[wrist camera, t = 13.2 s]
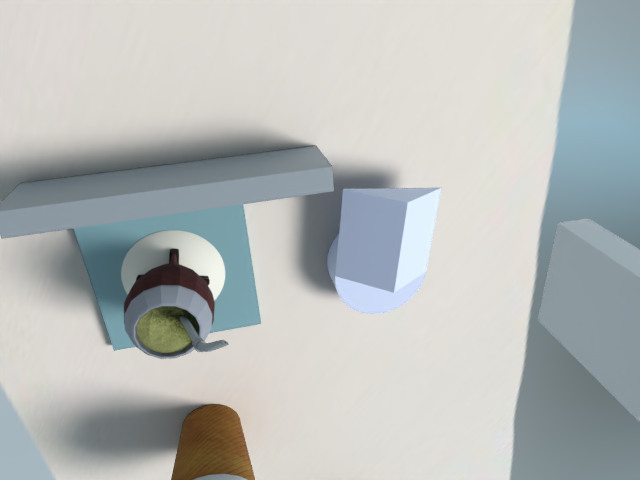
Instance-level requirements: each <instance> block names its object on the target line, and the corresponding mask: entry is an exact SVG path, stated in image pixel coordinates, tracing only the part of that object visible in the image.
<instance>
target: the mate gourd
mask: <svg viewBox="0 0 640 480" xmlns="http://www.w3.org/2000/svg"><path fill="white" fill-rule="evenodd" d="M209 283H210V280H209V277H208V276H199V275H198V274H197V273H196V272H195V271H194V270H192V269H190V268H187V267H185V266H183V265H180V264H179V249H174V248H172V249H170V253H169V263H168V264H164V265H161V266H158V267H155V268H153V269H151V270H149V271H148V272H147V273H145V274H143V275H138V276H137V278H136V282H135V283H134V284H133V286H132V288H131V290H130V292H129V294H128V295H127V297H126V300H125V302H124V324H125V331H126V333H127V334H128V336H129V338H130V340H131V341H132V343H133V344H134V345H135V346H136V347H137V348H139V349H140V350H142V351H143V352H144V353H146V354H147V355H150V356H154V357H157V358H161V359H164V358H177V357H180V356H183V355H186V354H188V353H190V352H192V351H193V350H194V349H196V351H197V352H208V351H213V350H216V349H218V348H221V347H224V346H226V345H229V344H228V342H226V341H225V340H220V341H216V342H211V343H205V339H206V337H207V336H208V334H209V332H210V330H211V329H212V324H213V322H214V309H215V302H214V298H213V294H212V292H211V290H210V288H209V287H208V285H209Z"/></svg>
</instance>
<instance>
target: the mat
mask: <svg viewBox="0 0 640 480" xmlns="http://www.w3.org/2000/svg"><path fill="white" fill-rule="evenodd" d="M73 229H74V232H75V235H76V238H77V241H78V244H79V247H80V250H81V253H82V256H83V259H84V262H85V265H86V268H87V271H88V274H89V277H90V280H91V283H92V286H93V289H94V292H95V295H96V298H97V301H98V304H99V307H100V310H101V313H102V316H103V319H104V322H105V325H106V328H107V331H108V334H109V337H110V340H111V343H112V346H113V349H114V350H120V349H125V348H131V347H136V346H135V345H134V344H133V343H132V341H131V340H130V338H129V336H128V334H127V333H126V331H125V324H124V302H125V300H126V297H127V295H128V294H129V292H130V290H131V288H132V286H133V284H134V283H135V282H136V278H137V276H138V275H143V274H145V273H147V272H148V271H149V270H151V269H153V268H155V267H158V266H161V265H164V264H168V263H169V253H170V249H172V248H174V249H179V264H180V265H183V266H185V267H187V268H190V269H192V270H194V271H195V272H196V273H197V274H198V275H199V276H208V277H209V280H210V283H209V285H208V287H209V288H210V290H211V292H212V294H213V298H214V302H215V309H214V322H213V324H212V329H211V330H210V332H209V333H213V332H218V331H224V330H229V329H235V328H240V327H246V326H251V325H256V324H261V320H260V313H259V307H258V300H257V293H256V287H255V280H254V274H253V267H252V260H251V254H250V247H249V240H248V234H247V227H246V220H245V214H244V207H243V204H241V205H234V206H227V207H220V208H213V209H206V210H199V211H192V212H185V213H178V214H171V215H164V216H157V217H150V218H143V219H136V220H129V221H122V222H115V223H108V224H101V225H94V226H87V227H80V228H73Z"/></svg>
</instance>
